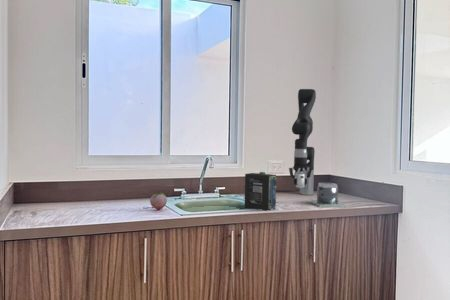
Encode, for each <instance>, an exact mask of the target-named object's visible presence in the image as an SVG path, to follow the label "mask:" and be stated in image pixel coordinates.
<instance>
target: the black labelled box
mask: <svg viewBox="0 0 450 300" xmlns="http://www.w3.org/2000/svg"><path fill="white" fill-rule="evenodd" d="M244 174H245V175H244V185H243V188H242V189H243V190H244V197H243V198H242V199H244V208H247V209H253V210H259V209H262V210H261V211H266V210H269V211H272V210H271V209H273V210H275V209H276V208H277V205H276V203H277V197H276V193H277V179H278V178H277V175H276V174H272V173H270V174H269V173H266V172H265V171H259V173H258V172H257V173H256V172H249V173H244Z"/></svg>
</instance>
